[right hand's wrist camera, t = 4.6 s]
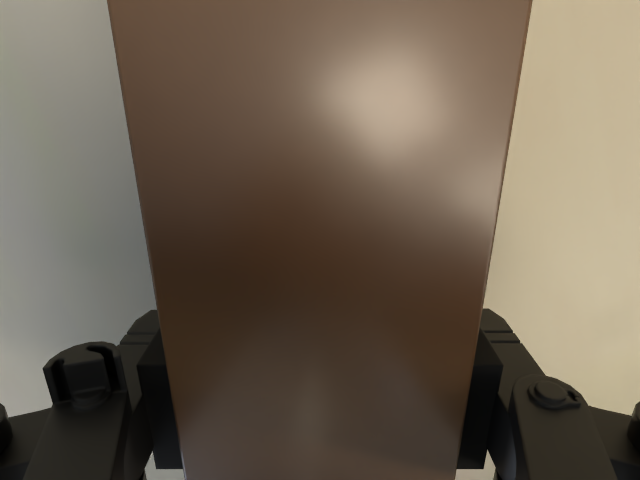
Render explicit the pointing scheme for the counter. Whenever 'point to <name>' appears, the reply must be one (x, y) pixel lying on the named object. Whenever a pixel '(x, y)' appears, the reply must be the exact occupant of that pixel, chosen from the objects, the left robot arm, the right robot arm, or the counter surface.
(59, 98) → the counter surface
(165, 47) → the bar
